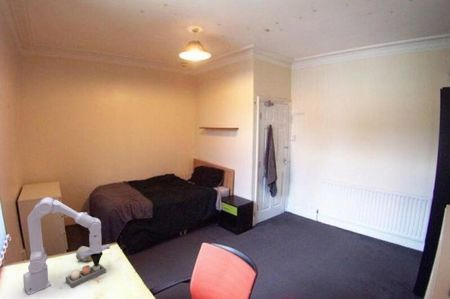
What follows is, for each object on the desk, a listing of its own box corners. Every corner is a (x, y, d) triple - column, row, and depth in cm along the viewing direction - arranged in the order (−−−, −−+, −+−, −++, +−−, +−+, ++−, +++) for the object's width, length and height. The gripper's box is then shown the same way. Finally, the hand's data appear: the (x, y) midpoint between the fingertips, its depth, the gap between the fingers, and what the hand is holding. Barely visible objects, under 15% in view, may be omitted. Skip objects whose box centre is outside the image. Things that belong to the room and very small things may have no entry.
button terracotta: (84, 277, 127) (83, 269, 127) (81, 274, 130) (80, 267, 129) (91, 274, 130) (91, 266, 130) (88, 271, 132) (88, 264, 132)
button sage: (94, 275, 132) (94, 268, 131) (91, 272, 134) (91, 265, 133) (101, 272, 134) (101, 265, 134) (98, 269, 137) (98, 263, 136)
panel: (71, 288, 121) (71, 283, 121) (65, 281, 126) (65, 277, 126) (106, 272, 134) (105, 268, 134) (99, 267, 139) (99, 263, 139)
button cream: (73, 282, 123) (72, 274, 123) (70, 279, 126) (70, 271, 125) (80, 278, 126) (80, 271, 126) (77, 276, 128) (77, 268, 128)
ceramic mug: (87, 264, 143) (87, 251, 142) (75, 262, 145) (75, 249, 144) (100, 255, 153) (100, 243, 152) (89, 253, 155) (89, 241, 154)
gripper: (84, 248, 124) (85, 274, 126) (112, 239, 136) (112, 262, 137) (78, 244, 129) (79, 269, 130) (106, 235, 140) (106, 258, 141)
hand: (96, 265), depth 134 cm, fingers closed, pressing on button sage
